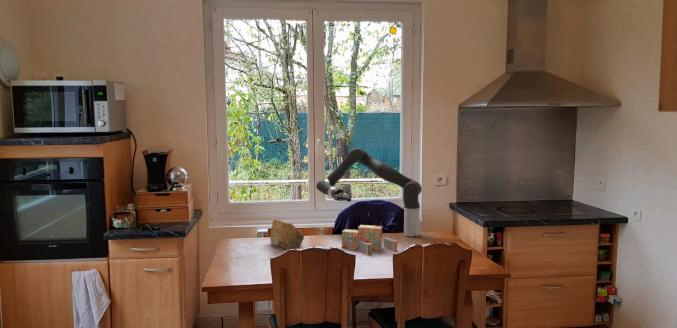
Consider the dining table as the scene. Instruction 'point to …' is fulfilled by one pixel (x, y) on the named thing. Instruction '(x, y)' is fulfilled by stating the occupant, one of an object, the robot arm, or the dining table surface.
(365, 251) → the spaced upright blocks
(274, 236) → the rough brown rock
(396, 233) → the dining table surface
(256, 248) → the dining table surface
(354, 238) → the stack of blocks
